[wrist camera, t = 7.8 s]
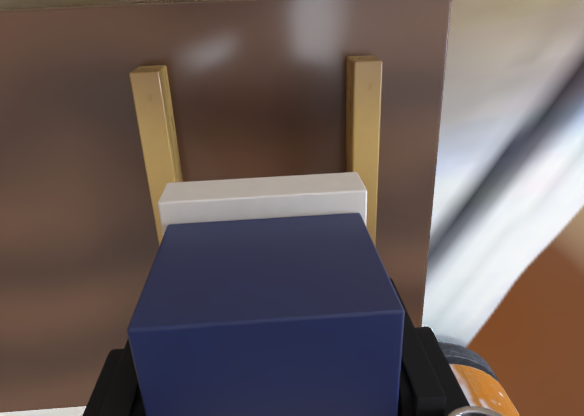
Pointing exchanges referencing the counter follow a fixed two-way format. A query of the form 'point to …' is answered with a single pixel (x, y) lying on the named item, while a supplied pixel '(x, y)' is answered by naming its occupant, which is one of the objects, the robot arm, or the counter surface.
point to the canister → (477, 380)
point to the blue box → (267, 303)
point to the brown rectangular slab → (192, 149)
